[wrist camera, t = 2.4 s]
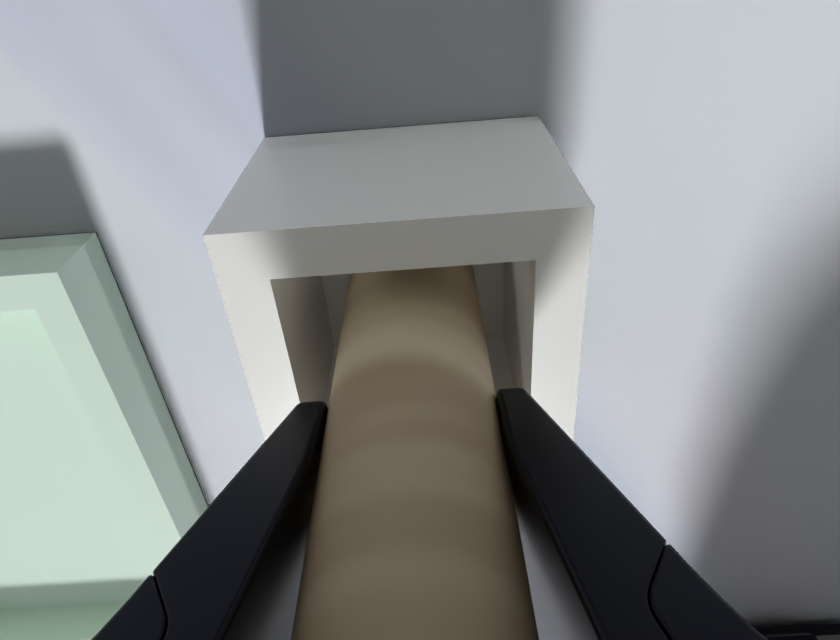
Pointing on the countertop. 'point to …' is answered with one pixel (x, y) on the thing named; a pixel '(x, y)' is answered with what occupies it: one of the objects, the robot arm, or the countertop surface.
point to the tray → (79, 445)
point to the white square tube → (405, 249)
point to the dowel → (413, 475)
